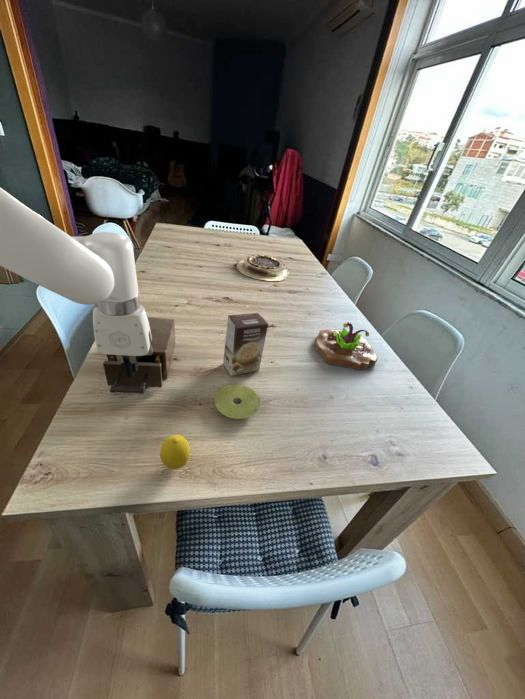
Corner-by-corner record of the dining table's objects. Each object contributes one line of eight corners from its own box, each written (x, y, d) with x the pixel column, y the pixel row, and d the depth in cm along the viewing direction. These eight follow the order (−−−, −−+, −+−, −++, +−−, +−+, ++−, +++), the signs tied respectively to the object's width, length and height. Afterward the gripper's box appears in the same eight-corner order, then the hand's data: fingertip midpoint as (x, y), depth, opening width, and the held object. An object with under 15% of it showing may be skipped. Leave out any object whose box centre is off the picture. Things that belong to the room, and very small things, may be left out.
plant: (308, 332, 106) (316, 305, 99) (359, 336, 109) (369, 309, 102) (322, 368, 90) (333, 338, 84) (381, 371, 93) (395, 343, 87)
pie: (277, 286, 134) (279, 276, 131) (226, 269, 142) (226, 259, 139) (297, 269, 156) (299, 260, 153) (252, 255, 163) (253, 246, 160)
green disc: (235, 383, 79) (236, 378, 78) (267, 406, 74) (269, 401, 73) (204, 404, 72) (204, 399, 70) (237, 432, 67) (238, 426, 66)
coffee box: (230, 376, 81) (235, 328, 72) (222, 362, 85) (226, 315, 76) (260, 370, 85) (268, 323, 76) (251, 357, 89) (258, 311, 80)
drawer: (157, 404, 68) (155, 383, 64) (99, 403, 66) (93, 380, 62) (170, 351, 85) (169, 332, 80) (124, 349, 82) (120, 328, 78)
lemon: (164, 481, 55) (161, 456, 51) (159, 456, 59) (156, 431, 54) (193, 471, 58) (193, 447, 53) (186, 448, 61) (186, 424, 57)
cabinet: (167, 378, 77) (165, 352, 72) (111, 376, 75) (105, 349, 70) (175, 343, 89) (174, 319, 84) (127, 340, 87) (123, 315, 82)
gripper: (67, 308, 52) (89, 383, 63) (155, 314, 54) (162, 385, 65) (83, 289, 58) (101, 361, 69) (162, 295, 60) (167, 363, 71)
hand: (130, 372), depth 67 cm, fingers closed
